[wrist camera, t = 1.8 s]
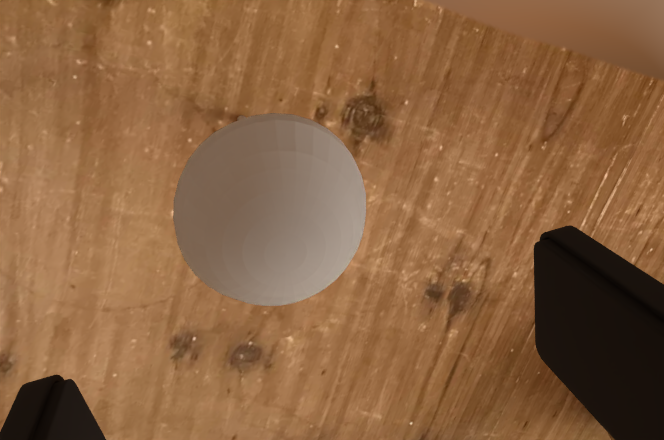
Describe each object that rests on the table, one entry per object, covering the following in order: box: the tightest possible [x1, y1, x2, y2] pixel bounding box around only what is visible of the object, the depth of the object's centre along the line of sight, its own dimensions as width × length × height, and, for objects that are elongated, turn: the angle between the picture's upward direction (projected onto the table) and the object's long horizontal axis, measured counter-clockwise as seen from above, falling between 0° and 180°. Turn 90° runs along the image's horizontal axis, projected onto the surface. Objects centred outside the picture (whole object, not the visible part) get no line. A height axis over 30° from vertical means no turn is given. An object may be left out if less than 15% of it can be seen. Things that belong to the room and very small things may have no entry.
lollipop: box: [173, 113, 366, 306], centre depth 20 cm, size 6×6×15 cm
